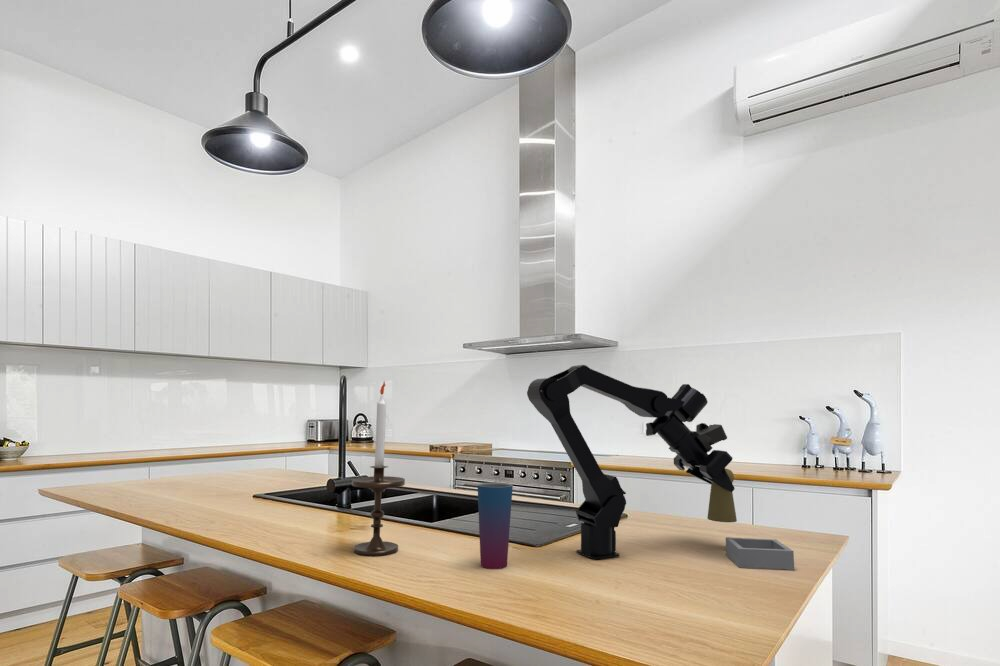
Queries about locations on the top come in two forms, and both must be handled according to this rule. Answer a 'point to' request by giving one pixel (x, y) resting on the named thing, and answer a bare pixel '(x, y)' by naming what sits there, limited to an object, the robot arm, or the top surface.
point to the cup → (494, 523)
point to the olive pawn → (721, 503)
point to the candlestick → (378, 490)
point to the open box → (759, 553)
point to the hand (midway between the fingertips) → (727, 488)
